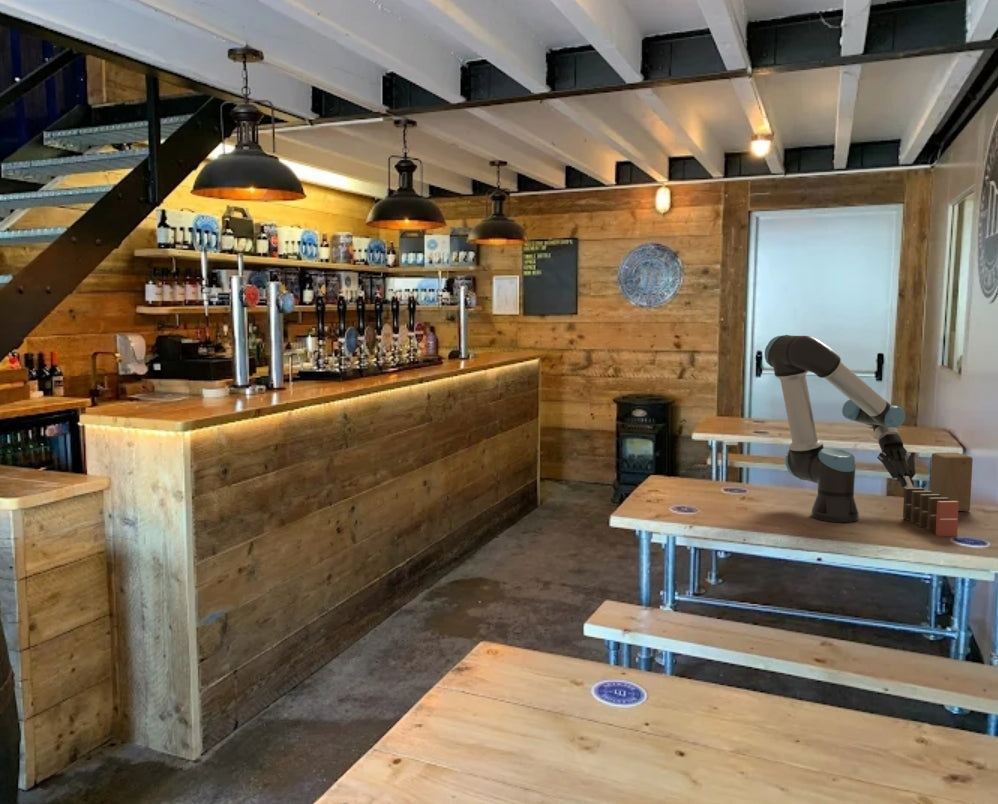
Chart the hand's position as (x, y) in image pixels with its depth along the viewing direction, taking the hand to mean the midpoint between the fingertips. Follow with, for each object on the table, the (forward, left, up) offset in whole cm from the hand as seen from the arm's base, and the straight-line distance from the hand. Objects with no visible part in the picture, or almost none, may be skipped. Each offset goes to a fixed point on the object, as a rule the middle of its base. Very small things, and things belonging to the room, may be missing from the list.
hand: (911, 493), depth 273 cm
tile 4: (+4, -17, -8) cm, 19 cm away
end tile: (+5, -22, -8) cm, 24 cm away
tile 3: (+3, -12, -8) cm, 15 cm away
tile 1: (0, -3, -8) cm, 9 cm away
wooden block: (+17, +17, -9) cm, 25 cm away
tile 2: (+1, -8, -8) cm, 11 cm away
